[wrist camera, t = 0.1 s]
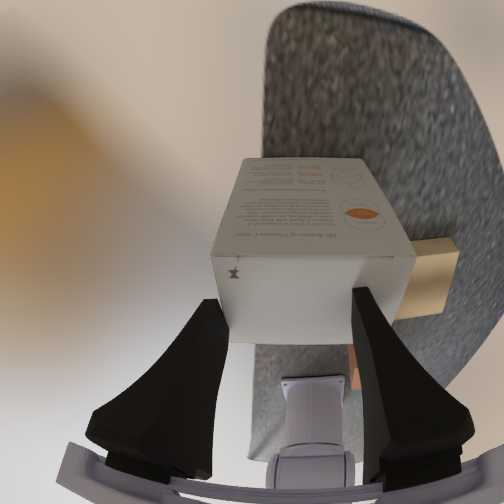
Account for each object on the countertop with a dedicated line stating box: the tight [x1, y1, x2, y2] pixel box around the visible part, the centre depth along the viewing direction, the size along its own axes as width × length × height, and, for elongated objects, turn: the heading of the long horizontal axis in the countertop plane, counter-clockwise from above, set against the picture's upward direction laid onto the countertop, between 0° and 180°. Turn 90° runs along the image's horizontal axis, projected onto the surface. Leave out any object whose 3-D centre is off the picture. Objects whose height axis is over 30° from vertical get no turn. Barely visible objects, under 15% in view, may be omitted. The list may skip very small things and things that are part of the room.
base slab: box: [394, 237, 459, 320], centre depth 22 cm, size 7×7×2 cm
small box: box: [211, 157, 417, 345], centre depth 16 cm, size 8×6×10 cm
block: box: [347, 326, 392, 390], centre depth 25 cm, size 4×4×6 cm
